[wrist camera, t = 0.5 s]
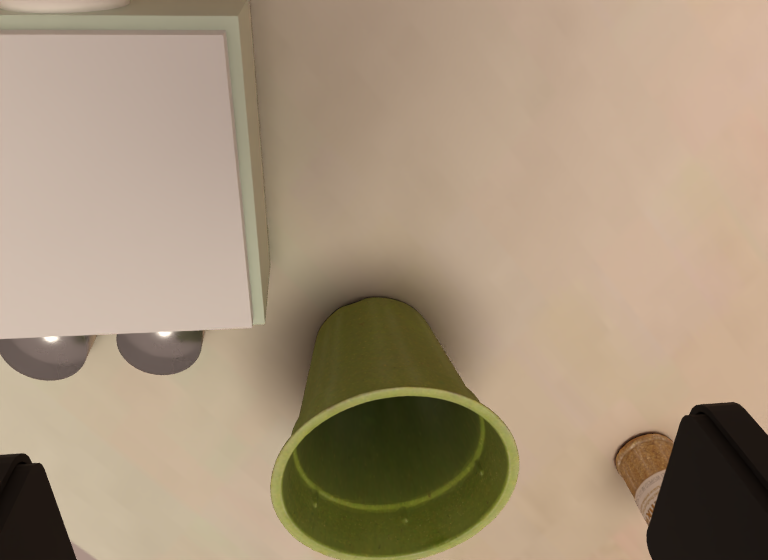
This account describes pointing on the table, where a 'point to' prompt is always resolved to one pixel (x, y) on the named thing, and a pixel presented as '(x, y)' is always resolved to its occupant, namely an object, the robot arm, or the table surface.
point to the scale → (129, 168)
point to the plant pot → (389, 443)
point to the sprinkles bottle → (644, 469)
